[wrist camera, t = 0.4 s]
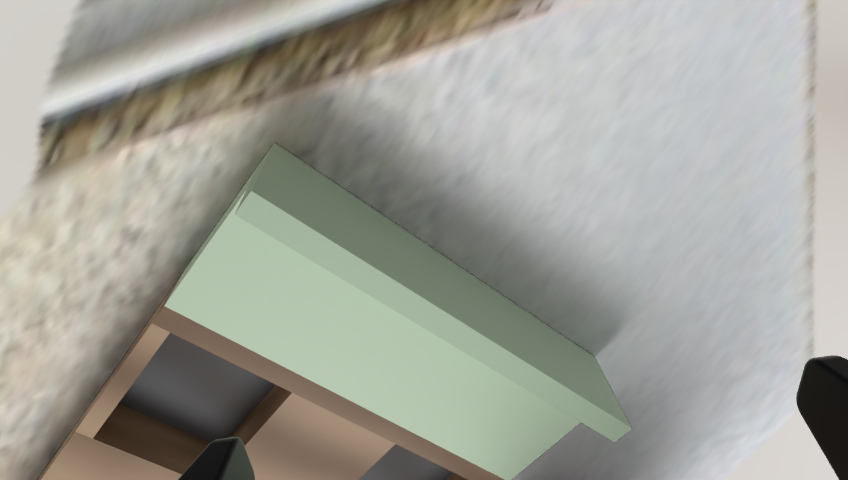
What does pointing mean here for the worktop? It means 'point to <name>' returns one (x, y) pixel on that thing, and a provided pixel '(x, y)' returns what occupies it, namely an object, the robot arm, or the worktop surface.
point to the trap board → (234, 418)
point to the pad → (389, 322)
